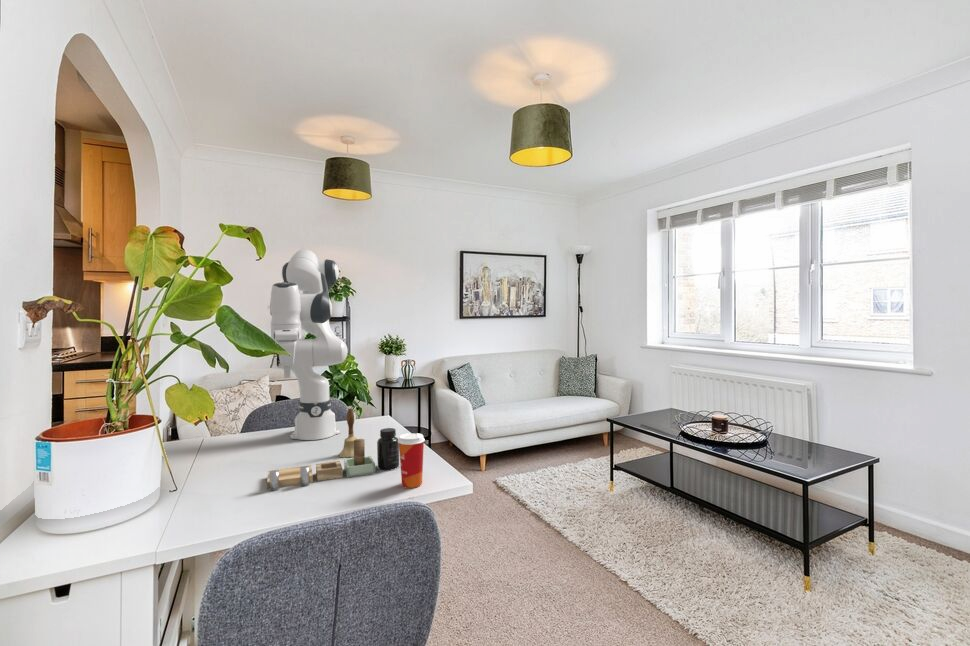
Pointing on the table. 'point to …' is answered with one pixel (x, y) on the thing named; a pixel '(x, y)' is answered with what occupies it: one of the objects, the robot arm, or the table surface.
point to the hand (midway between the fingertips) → (287, 377)
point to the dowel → (359, 452)
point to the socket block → (329, 470)
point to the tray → (359, 467)
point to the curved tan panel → (290, 477)
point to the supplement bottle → (388, 449)
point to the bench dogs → (275, 478)
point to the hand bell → (349, 437)
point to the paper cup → (411, 459)
